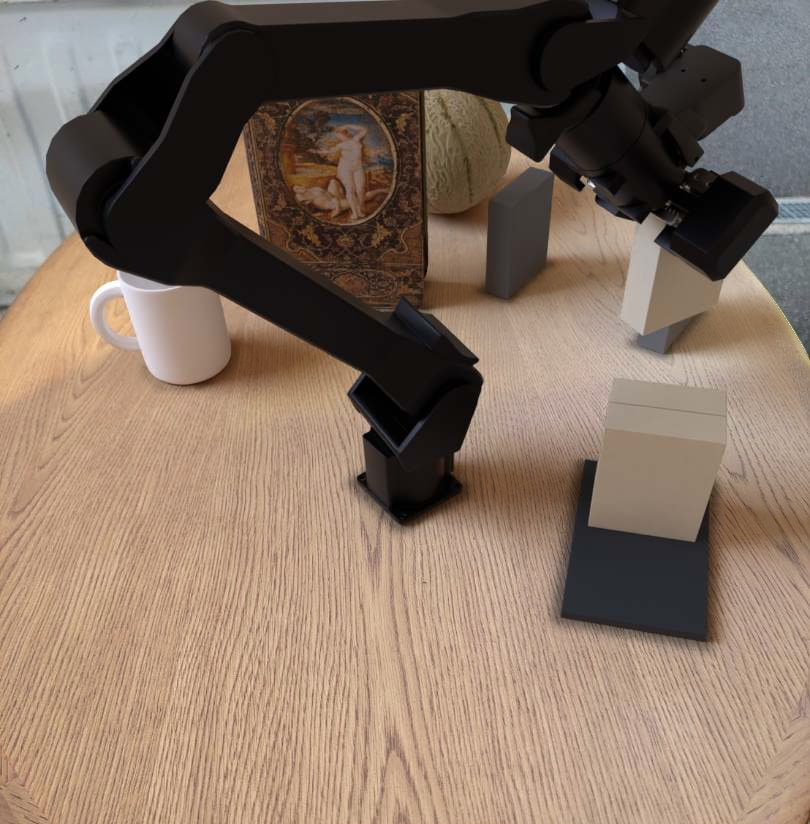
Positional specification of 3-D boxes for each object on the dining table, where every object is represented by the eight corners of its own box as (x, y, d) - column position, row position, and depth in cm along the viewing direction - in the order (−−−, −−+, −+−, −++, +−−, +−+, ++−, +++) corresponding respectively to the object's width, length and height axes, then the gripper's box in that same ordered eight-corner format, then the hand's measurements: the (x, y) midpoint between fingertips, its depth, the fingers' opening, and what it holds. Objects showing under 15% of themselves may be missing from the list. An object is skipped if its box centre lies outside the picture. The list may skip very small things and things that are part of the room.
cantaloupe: (516, 233, 98) (525, 93, 86) (385, 242, 97) (377, 103, 86) (498, 171, 107) (503, 39, 96) (379, 180, 107) (371, 47, 96)
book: (266, 305, 90) (218, 41, 71) (276, 276, 94) (234, 17, 75) (424, 309, 88) (418, 41, 70) (428, 279, 92) (424, 17, 73)
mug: (101, 394, 81) (65, 298, 74) (114, 341, 87) (82, 246, 79) (230, 384, 82) (207, 287, 74) (235, 332, 87) (214, 237, 79)
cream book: (642, 336, 72) (665, 222, 64) (619, 318, 73) (639, 205, 66) (716, 306, 74) (747, 193, 67) (692, 289, 76) (719, 178, 68)
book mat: (560, 617, 62) (576, 514, 54) (583, 465, 73) (600, 360, 65) (704, 641, 61) (743, 539, 53) (707, 483, 71) (741, 376, 63)
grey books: (663, 354, 82) (685, 258, 75) (484, 291, 90) (488, 199, 83) (697, 312, 86) (721, 218, 79) (523, 256, 94) (530, 165, 87)
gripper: (802, 63, 50) (869, 196, 61) (598, -23, 61) (688, 104, 72) (668, 230, 53) (755, 326, 65) (498, 120, 64) (599, 219, 76)
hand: (698, 236), depth 69 cm, fingers closed on cream book, 3 cm apart
